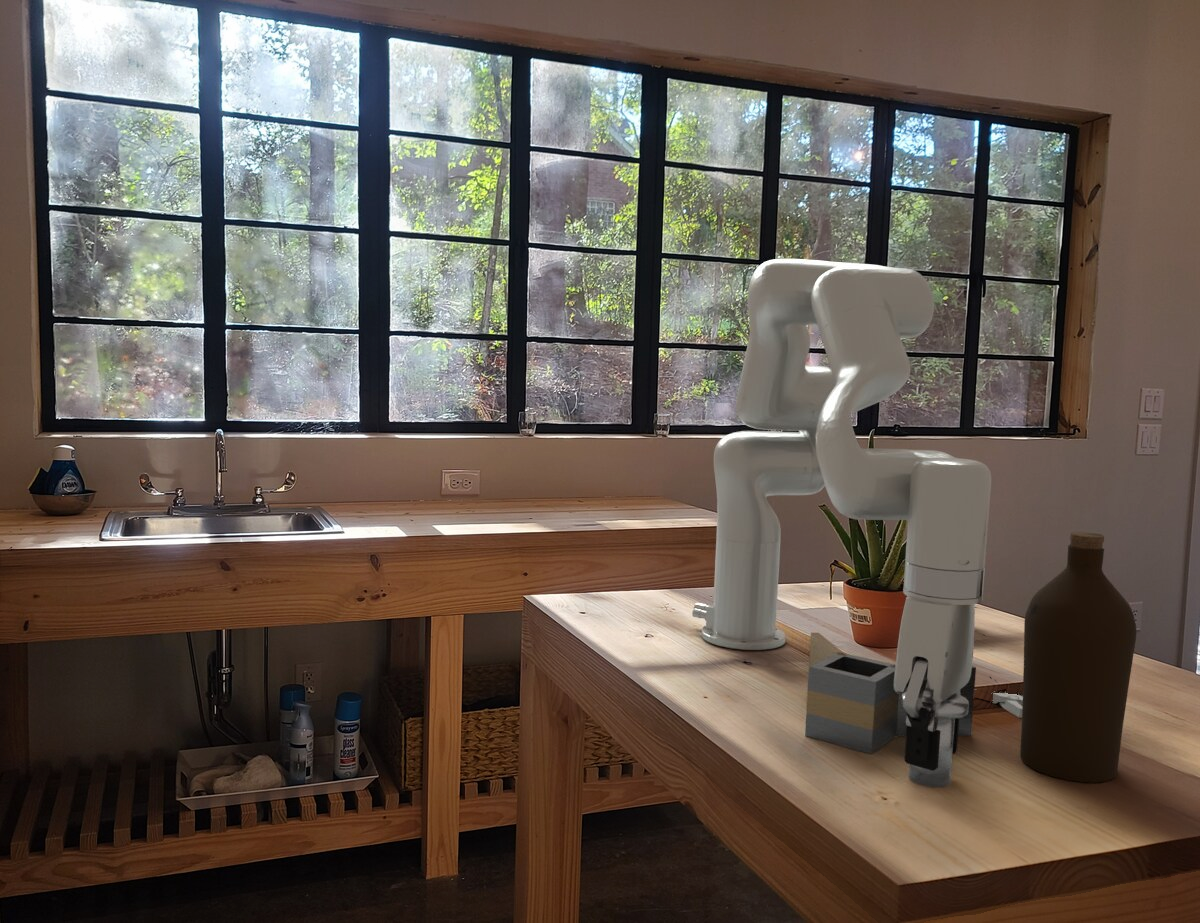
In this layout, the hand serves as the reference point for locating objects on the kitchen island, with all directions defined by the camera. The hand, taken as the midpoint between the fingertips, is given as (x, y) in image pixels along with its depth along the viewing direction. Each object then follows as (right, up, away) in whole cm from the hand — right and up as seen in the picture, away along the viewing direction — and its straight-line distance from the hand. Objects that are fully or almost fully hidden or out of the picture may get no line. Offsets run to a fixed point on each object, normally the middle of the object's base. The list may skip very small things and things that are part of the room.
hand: (931, 756), depth 101 cm
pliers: (+17, -1, +27) cm, 32 cm away
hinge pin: (0, -2, 0) cm, 2 cm away
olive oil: (+16, -3, +5) cm, 17 cm away
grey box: (-3, -1, +14) cm, 15 cm away
